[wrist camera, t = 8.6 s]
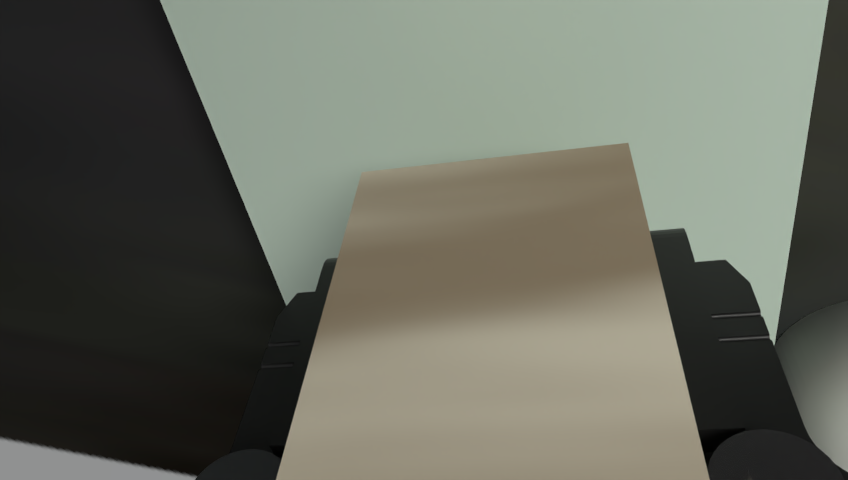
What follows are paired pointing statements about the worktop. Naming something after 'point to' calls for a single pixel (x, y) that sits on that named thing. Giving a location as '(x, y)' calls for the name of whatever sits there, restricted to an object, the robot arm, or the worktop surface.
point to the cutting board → (512, 108)
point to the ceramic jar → (820, 376)
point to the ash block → (497, 331)
